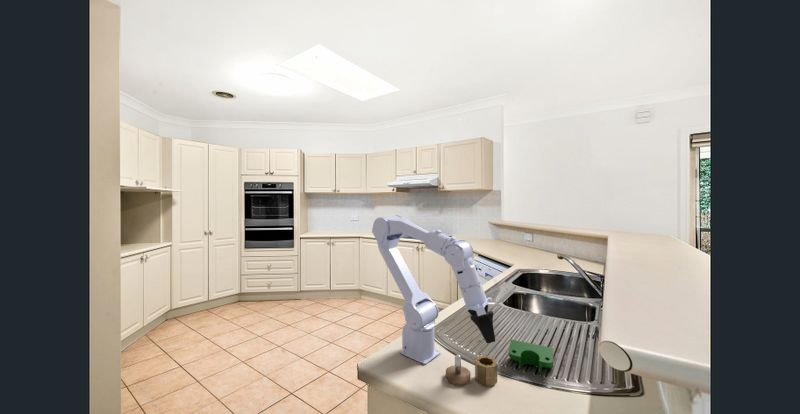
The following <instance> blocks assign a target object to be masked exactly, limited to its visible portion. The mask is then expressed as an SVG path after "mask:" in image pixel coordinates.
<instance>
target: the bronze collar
mask: <svg viewBox="0 0 800 414" xmlns="http://www.w3.org/2000/svg"><path fill="white" fill-rule="evenodd" d="M474 379H475V381H476V383H477V384H479V385H481V386H483V387H495V385H496V384H497V383H498V362H497V361H496V359H495V358H494V357H492V356H488V355H479V356H477V358H475V359H474Z"/></svg>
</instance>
